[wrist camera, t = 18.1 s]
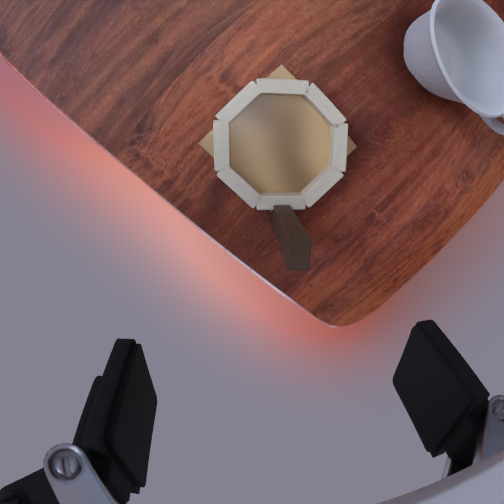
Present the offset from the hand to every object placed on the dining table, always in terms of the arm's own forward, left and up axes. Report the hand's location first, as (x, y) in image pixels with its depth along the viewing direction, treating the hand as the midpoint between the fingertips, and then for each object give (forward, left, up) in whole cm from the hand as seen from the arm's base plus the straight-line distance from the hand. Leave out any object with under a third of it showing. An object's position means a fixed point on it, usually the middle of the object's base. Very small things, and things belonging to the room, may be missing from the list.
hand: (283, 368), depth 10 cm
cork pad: (+3, +5, -23) cm, 24 cm away
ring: (+3, +5, -22) cm, 23 cm away
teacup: (+20, +15, -23) cm, 34 cm away
